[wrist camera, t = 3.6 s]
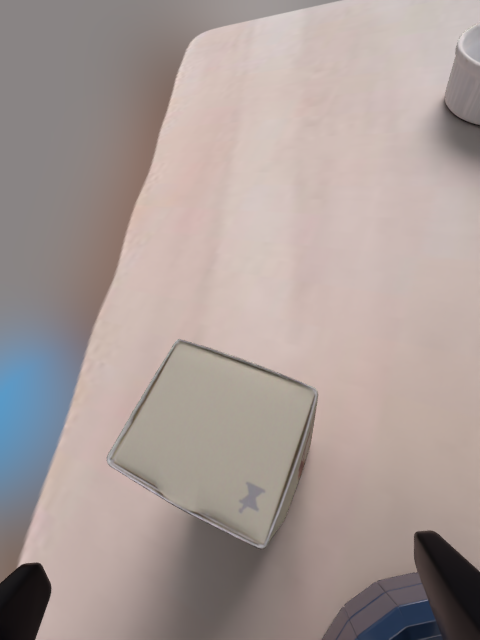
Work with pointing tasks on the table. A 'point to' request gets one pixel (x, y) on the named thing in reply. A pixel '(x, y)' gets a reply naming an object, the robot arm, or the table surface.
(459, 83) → the ramekin
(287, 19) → the table surface
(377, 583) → the dish
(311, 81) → the table surface
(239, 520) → the pushpin icon carton
